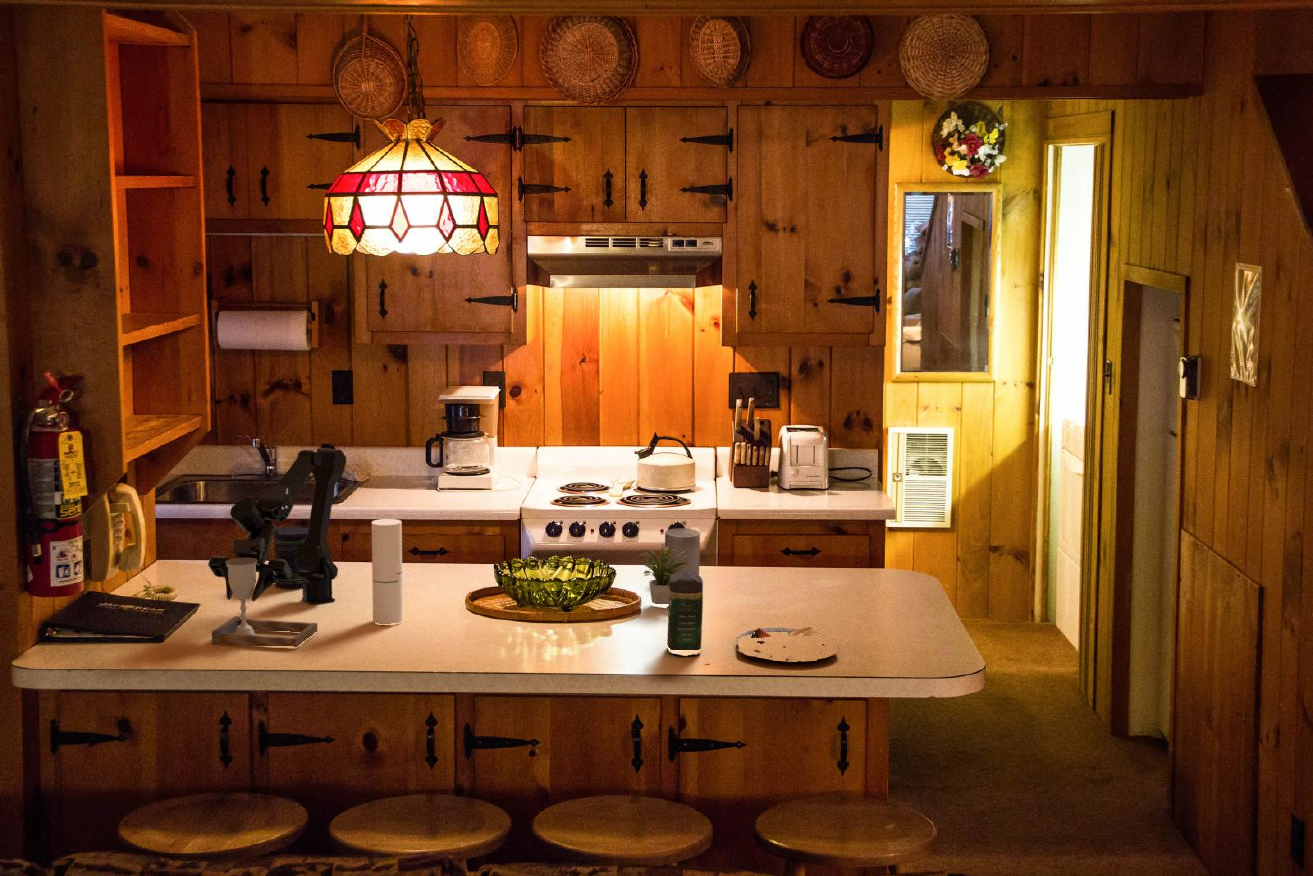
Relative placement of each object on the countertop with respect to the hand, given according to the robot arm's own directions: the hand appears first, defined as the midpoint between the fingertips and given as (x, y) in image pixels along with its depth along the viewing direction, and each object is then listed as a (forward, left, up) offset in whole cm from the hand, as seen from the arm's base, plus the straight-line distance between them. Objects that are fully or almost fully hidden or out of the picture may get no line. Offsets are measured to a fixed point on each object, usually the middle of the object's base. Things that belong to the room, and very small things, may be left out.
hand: (240, 599), depth 340 cm
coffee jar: (-81, +65, -10) cm, 104 cm away
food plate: (-101, +78, -10) cm, 128 cm away
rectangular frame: (-5, +3, -9) cm, 11 cm away
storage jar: (-30, -39, -10) cm, 50 cm away
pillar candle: (-120, +14, -10) cm, 121 cm away
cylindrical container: (-35, +6, -10) cm, 36 cm away
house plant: (-99, +32, -10) cm, 104 cm away
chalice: (-1, -1, -9) cm, 9 cm away
